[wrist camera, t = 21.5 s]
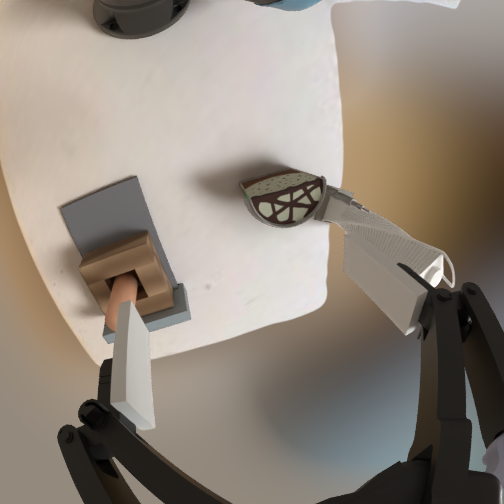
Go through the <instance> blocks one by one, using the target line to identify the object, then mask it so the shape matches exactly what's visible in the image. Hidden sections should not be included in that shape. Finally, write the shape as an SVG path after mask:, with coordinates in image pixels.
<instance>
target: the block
mask: <svg viewBox="0 0 504 504" xmlns="http://www.w3.org/2000/svg"><path fill="white" fill-rule="evenodd" d="M78 269H79V271H80V273H81V275H82V276H83V278H84V280H85V282H86V284H87V285H88V287H89V289H90V291H91V292H92V294H93V296H94V297H95V299H96V301H97V302H98V304H99V306H100V307H101V309H102V311H103V312H104V314H105V315H106V312H107V307H108V303H109V299H110V295H111V291H112V288H113V284H114V280H115V277H116V275H119V274H122V273H125V272H128V271H131V270H134V269H135V270H136V272H137V275H138V277H139V280H138V287H137V295H136V303H135V308H136V310H137V311H138V313H139V315H140V317H142V316H145V315H148V314H151V313H155V312H158V311H161V310H164V309H167V308H170V307H173V306H174V298H173V289H172V287H171V284H170V282H169V280H168V278H167V275H166V273H165V271H164V268H163V266H162V264H161V261H160V259H159V256H158V254H157V251H156V249H155V247H154V244H153V242H152V239H151V236H150V234H149V231H145V232H142V233H140V234H137V235H134V236H131V237H128V238H126V239H123V240H120V241H118V242H115V243H112V244H110V245H107V246H104V247H102V248H99V249H96V250H94V251H91V252H89V253H86V254H85V256H84V258H83V260H82V262H81V264H80V266H79V268H78Z"/></svg>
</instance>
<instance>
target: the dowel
mask: <svg viewBox="0 0 504 504" xmlns="http://www.w3.org/2000/svg"><path fill="white" fill-rule="evenodd" d="M138 280H139V277H138V275H137V272H136V270H135V269H134V270H131V271H128V272H125V273H122V274H119V275H116V277H115V280H114V284H113V288H112V291H111V295H110V299H109V303H108V307H107V312H106V316H105V323H106V325H107V326H108V327H109V328H110V329H111V330H113V331H115V332H116V324H117V317H118V310H119V303H122V302H125V301H128V300H132V302H133V304H134V306H135V303H136V295H137V287H138Z"/></svg>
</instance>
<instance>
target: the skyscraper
mask: <svg viewBox="0 0 504 504" xmlns="http://www.w3.org/2000/svg"><path fill="white" fill-rule="evenodd" d="M352 196H353V193H352V192H349V191H346V190H343V189H339V188H336V187H332V186H329V185H326V192H325V197H324V199H323V202H322V204H321V206H320V208H319V209H318V210H317V213H316V216H315V220H320V221H325V222H330V223H335V224H337V225H338V226H340V227H341V228H343V229H344V231H345V232H346V234H348V233H352V232H355V233H356V234H358V235H359V236H360V237H362V238H363V239H364V240H366V241H367V242H368V243H370V244H371V245H372V246H374V247H375V248H376V249H377V250H379V251H380V252H381V253H383V254H384V255H385V256H386V257H388V258H389V259H390V260H392V261H393V262H394V263H395V264H397V263H402V264H404V265H407V266H408V267H410V268H411V269H412V270H413V271H414V272H416V273H417V274H418V275H419V276H421V277H422V278H423V279H424V280H426V281H427V282H428V283H429V284H431V285H432V286H433V287H436V286H437V285H438V283H439V282H440V280H441V278H443V279H444V280H445V281H446V282H447V284H448V285H449V286H450V287H451V288H453V287H454V285H455V273H454V269H453V265H452V263H451V261H450V259H449V258H448V256H447V255H446V254H445V252H444V251H442V250H439V249H437V248H435V247H432V246H430V245H428V244H425V243H423V242H421V241H418V240H416V239H413V238H412V237H411V236H409V235H408V234H407V233H406V232H405V231H403V230H402V229H401V228H399V227H398V226H396V225H395V224H393V223H392V222H390V221H388V220H387V219H385V218H383V217H382V216H380V215H378V214H376V213H374V212H372V211H369V210H367V209H365V207H364V206H362V205H360V204H358V203H357V202H356V199H354V198H352ZM443 256H444V257H445V259H446V260H447V261H448V263H449V265H450V267H451V270H452V275H453V282H452V284H451V283H450V282H449V281H448V280H447V278H446V277H445V276H444V275H443Z"/></svg>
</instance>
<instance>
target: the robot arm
mask: <svg viewBox="0 0 504 504" xmlns="http://www.w3.org/2000/svg"><path fill="white" fill-rule="evenodd" d="M245 1H250V2H254V3H255V4H256V5H259V6H266V7H274V8H278V9H281V10H285V11H300V10H304V9H306V8H309V7H311V6H313V5H315V4H317V3H318V2H319V1H321V0H245ZM189 3H190V0H94V3H93V14H94V18H95V20H96V22H97V23H98V25H99V26H100V27H101V29H102V30H103V31H105V32H106V33H107V34H109V35H111V36H114V37H117V38H122V39H139V38H144V37H149V36H152V35H155V34H157V33H160V32H162V31H164V30H165V29H167V28H169V27H170V26H172V25H173V24H174V23H176V22H177V21H178V20H179V19H180V18H181V17H182V16H183V14H184V13H185V11H186V10H187V8H188V6H189ZM343 271H344V272H345V273H346V274H347V275H348V276H349V277H350V278H351V279H352V280H353V281H354V282H355V283H356V284H357V285H358V286H359V287H360V288H361V289H362V290H363V291H364V292H365V293H366V294H367V295H368V296H369V297H370V298H371V299H372V300H373V301H374V302H375V303H376V304H377V306H378V307H379V308H380V309H381V310H382V311H383V312H384V313H385V314H386V315H387V316H388V317H389V318H390V319H391V320H392V321H393V322H394V324H395V325H396V326H397V327H398V328H399V329H400V330H401V331H402V332H403V333H404V334H405V335H407V334H409V333H411V332H412V331H414V330H415V329H416V327H417V324H418V322H420V324H421V325H422V327H421V329H420V332H419V335H418V338H417V339H419V338H420V336H421V374H420V393H419V405H418V414H417V424H416V430H415V437H414V441H413V444H412V446H411V448H410V451H409V454H408V458H407V462H403V463H401V462H400V461H399V462H397V463H395V464H394V465H392V466H390V467H389V468H387V469H386V470H384V471H382V472H381V473H379V474H377V475H376V476H375V477H373V478H372V479H370V480H369V481H367V482H366V483H365V484H364V485H363V486H361V487H360V488H359V489H357V490H356V491H355V492H354V493H350V494H345V495H341V496H337V497H332V498H329V499H326V500H324V501H321V502H319V503H317V504H502V489H503V488H504V332H503V330H502V328H501V326H500V324H499V322H498V320H497V318H496V316H495V314H494V312H493V310H492V308H491V307H490V305H489V303H488V301H487V299H486V298H485V296H484V294H483V292H482V291H481V289H480V288H479V287H478V286H477V285H476V284H474V283H471V282H467V283H464V284H463V285H462V288H461V291H457V292H453V293H451V292H450V291H448V290H447V289H443V288H439V289H435V288H434V287H433V286H432V285H431V284H429V283H428V282H427V281H426V280H424V279H423V278H422V277H421V276H419V275H418V274H417V273H416V272H414V271H413V270H412V269H411V268H410V267H408V266H407V265H404V264H402V263H397V264H395V263H394V262H393V261H392V260H390V259H389V258H388V257H386V256H385V255H384V254H383V253H381V252H380V251H379V250H377V249H376V248H375V247H374V246H372V245H371V244H370V243H368V242H367V241H366V240H364V239H363V238H362V237H360V236H359V235H358V234H356V233H355V232H352V233H348V234H345V235H344V265H343ZM470 319H471V320H470ZM471 321H472V322H471ZM464 367H465V369H464ZM465 370H466V373H467V376H468V380H469V383H470V387H471V390H472V394H473V398H474V402H475V406H476V410H477V415H478V419H479V425H480V430H481V434H482V438H483V441H484V444H485V447H486V449H487V451H486V454H485V455H484V456H483V463H484V464H485V465H487V468H486V471H485V472H479V471H471V470H468V468H469V461H470V451H471V438H472V423H471V420H469V419H467V418H466V389H465V388H466V387H465ZM99 377H100V378H99V385H98V398H97V399H98V400H95V399H90V400H87V401H85V402H84V403H83V404H82V405H81V406H80V408H79V411H78V417H79V419H80V421H81V422H82V423H83V424H85V425H83V426H81V427H78V428H75V427H74V426H72V425H65V426H63V427H62V428H61V429H60V430H59V432H58V436H57V438H58V443H59V446H60V449H61V452H62V454H63V457H64V460H65V462H66V465H67V467H68V470H69V472H70V475H71V477H72V479H73V481H74V484H75V486H76V488H77V490H78V492H79V494H80V496H81V498H82V500H83V502H84V504H141V503H140V502H139V501H138V499H137V498H136V496H135V495H134V494H133V492H132V490H131V489H130V487H129V486H128V484H127V483H126V481H125V479H124V478H123V476H122V474H121V473H120V471H119V469H118V468H117V466H116V464H115V462H114V461H113V459H112V457H115V458H116V459H117V460H118V461H119V462H120V463H121V464H122V465H123V466H124V467H125V468H126V469H127V470H128V471H129V472H130V473H131V474H132V475H133V476H134V477H135V478H136V479H137V480H138V481H139V482H140V483H141V484H142V485H144V486H145V487H146V488H147V489H148V490H149V491H150V492H151V493H153V494H154V495H155V496H156V497H157V498H159V499H160V500H161V501H162V502H163V503H165V504H232V503H230V502H229V501H227V500H225V499H224V498H222V497H220V496H219V495H217V494H215V493H213V492H212V491H210V490H209V489H207V488H206V487H204V486H203V485H201V484H200V483H198V482H197V481H196V480H194V479H192V478H191V477H190V476H188V475H187V474H185V473H184V472H183V471H182V470H180V469H179V468H178V467H176V466H175V465H174V464H172V463H171V462H170V461H168V460H167V459H166V458H164V456H162V455H161V454H160V453H159V452H157V451H156V450H155V449H154V448H153V447H152V446H150V445H149V444H148V443H147V442H146V441H145V440H144V439H143V438H141V437H140V436H139V435H138V434H137V433H136V427H138V428H139V429H140V430H147V429H153V428H155V419H154V409H153V398H152V383H151V365H150V333H149V331H148V329H147V328H146V326H145V324H144V322H143V321H142V319H141V317H140V315H139V313H138V311H137V310H136V308H135V306H134V304H133V302H132V300H128V301H125V302H122V303H119V310H118V317H117V324H116V332H115V341H114V351H113V358H111V359H106V360H104V361H103V363H102V365H101V368H100V374H99Z"/></svg>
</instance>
